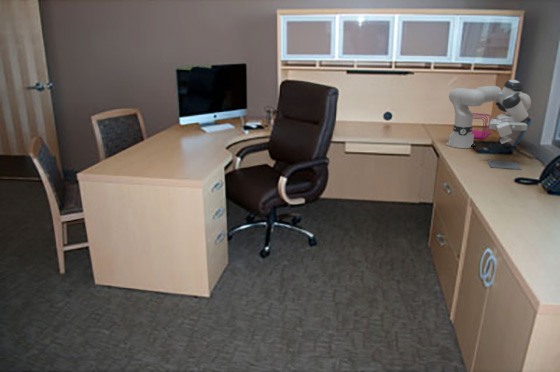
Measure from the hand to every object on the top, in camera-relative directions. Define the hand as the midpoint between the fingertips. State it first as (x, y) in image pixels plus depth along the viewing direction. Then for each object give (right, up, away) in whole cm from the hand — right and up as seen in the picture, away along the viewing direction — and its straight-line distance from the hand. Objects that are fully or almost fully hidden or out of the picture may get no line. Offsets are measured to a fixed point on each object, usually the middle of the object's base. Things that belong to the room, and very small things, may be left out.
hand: (509, 128), depth 257 cm
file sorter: (+17, +5, +85) cm, 87 cm away
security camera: (0, -7, +3) cm, 7 cm away
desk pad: (0, -21, +8) cm, 22 cm away
